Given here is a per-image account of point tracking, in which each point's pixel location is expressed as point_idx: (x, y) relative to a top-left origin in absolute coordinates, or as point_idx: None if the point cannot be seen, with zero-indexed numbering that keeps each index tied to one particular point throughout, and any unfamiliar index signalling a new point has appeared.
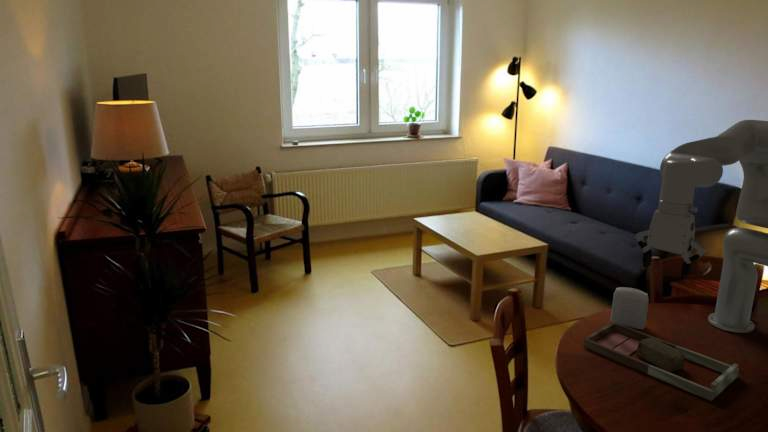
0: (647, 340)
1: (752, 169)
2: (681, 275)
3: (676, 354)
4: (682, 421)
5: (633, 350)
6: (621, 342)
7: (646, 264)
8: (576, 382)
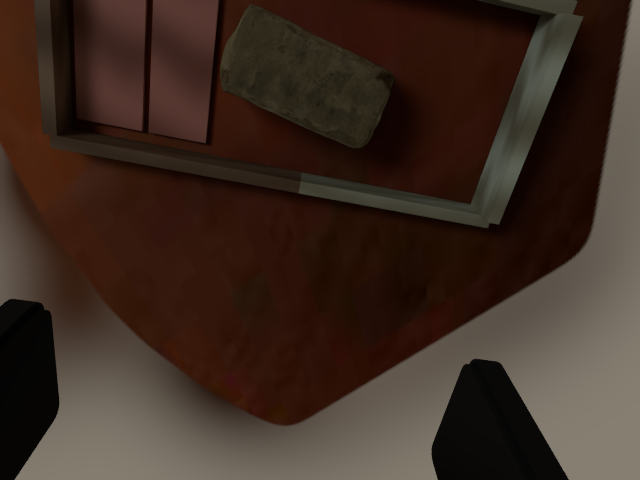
0: (245, 59)
1: None
2: (439, 468)
3: (369, 111)
4: (421, 336)
5: (208, 57)
6: (145, 14)
7: (39, 432)
8: (167, 334)
